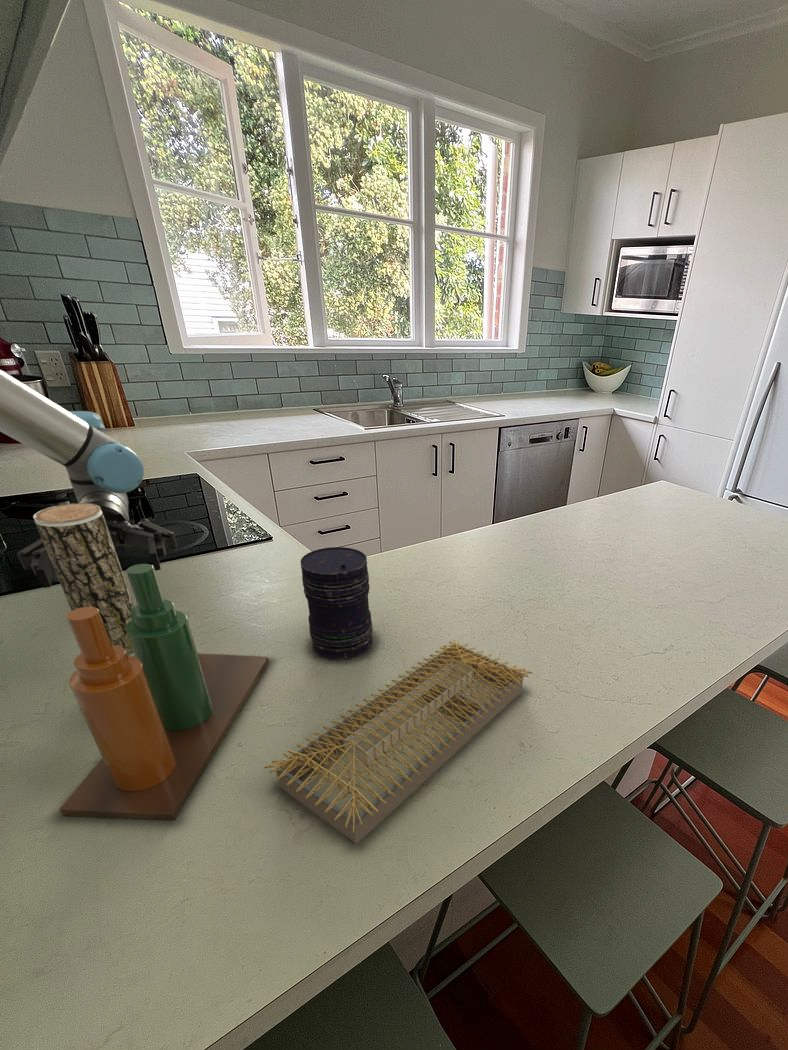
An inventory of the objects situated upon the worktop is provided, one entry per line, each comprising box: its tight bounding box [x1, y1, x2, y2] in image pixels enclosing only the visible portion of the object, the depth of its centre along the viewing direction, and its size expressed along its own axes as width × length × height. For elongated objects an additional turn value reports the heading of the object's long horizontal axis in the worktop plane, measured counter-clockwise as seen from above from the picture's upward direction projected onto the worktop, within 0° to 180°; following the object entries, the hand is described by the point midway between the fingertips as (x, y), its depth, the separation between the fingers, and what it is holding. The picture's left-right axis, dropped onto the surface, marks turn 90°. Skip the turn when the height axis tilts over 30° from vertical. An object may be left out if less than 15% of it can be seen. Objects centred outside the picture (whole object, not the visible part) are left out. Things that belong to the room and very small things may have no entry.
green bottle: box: [126, 563, 213, 730], centre depth 66 cm, size 6×6×21 cm
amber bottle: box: [65, 607, 176, 791], centre depth 57 cm, size 6×6×21 cm
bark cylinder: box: [32, 502, 136, 658], centre depth 72 cm, size 7×7×25 cm
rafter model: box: [263, 638, 533, 844], centre depth 70 cm, size 35×14×6 cm, turn 145°
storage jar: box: [300, 546, 374, 661], centre depth 85 cm, size 10×10×15 cm
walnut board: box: [59, 652, 270, 821], centre depth 71 cm, size 12×30×1 cm, turn 179°
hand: (101, 570), depth 77 cm, fingers open, 13 cm apart
